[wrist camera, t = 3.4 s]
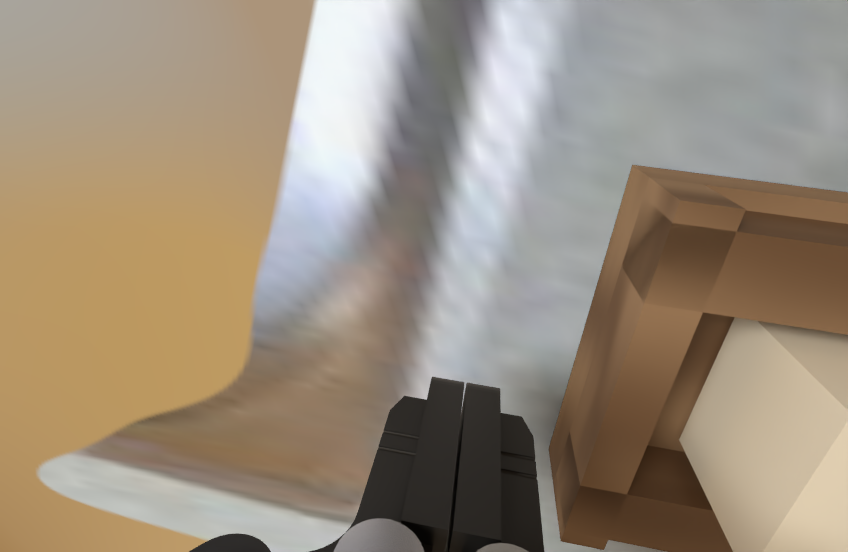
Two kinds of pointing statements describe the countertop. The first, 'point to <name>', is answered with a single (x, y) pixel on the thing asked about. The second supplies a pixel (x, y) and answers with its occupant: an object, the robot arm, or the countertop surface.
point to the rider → (775, 438)
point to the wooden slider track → (682, 342)
